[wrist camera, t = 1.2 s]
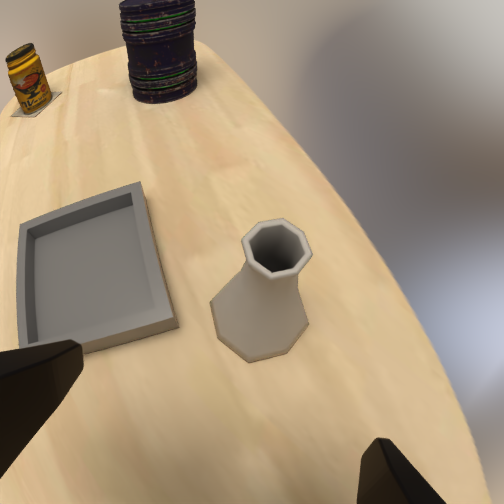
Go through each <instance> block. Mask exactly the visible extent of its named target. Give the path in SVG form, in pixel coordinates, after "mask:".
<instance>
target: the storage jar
mask: <svg viewBox="0 0 504 504" xmlns="http://www.w3.org/2000/svg"><path fill="white" fill-rule="evenodd" d="M194 7H195V1H194V0H125V1H123V2H121V3H120V4H119V9H120V10H121V13H120V17H121V21H120V22H121V29H122V32H123V34H122V36H123V39H124V41H125V42H126V47H127V53H128V60H129V62H128V70H129V79H130V83H131V86H132V88H133V96H134V98H135V99H136V100H137V101H139V102H142V103H148V104H160V103H167V102H172V101H175V100H178V99H181V98H183V97H185V96H187V95H189V94H190V93H192V92H193V91H194V90H195V89H196V87H197V79H196V76H197V73H196V72H197V61H196V52H195V50H194V33H193V30H194V29H195V24H196V22H195V16H196V9H195V8H194Z"/></svg>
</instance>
